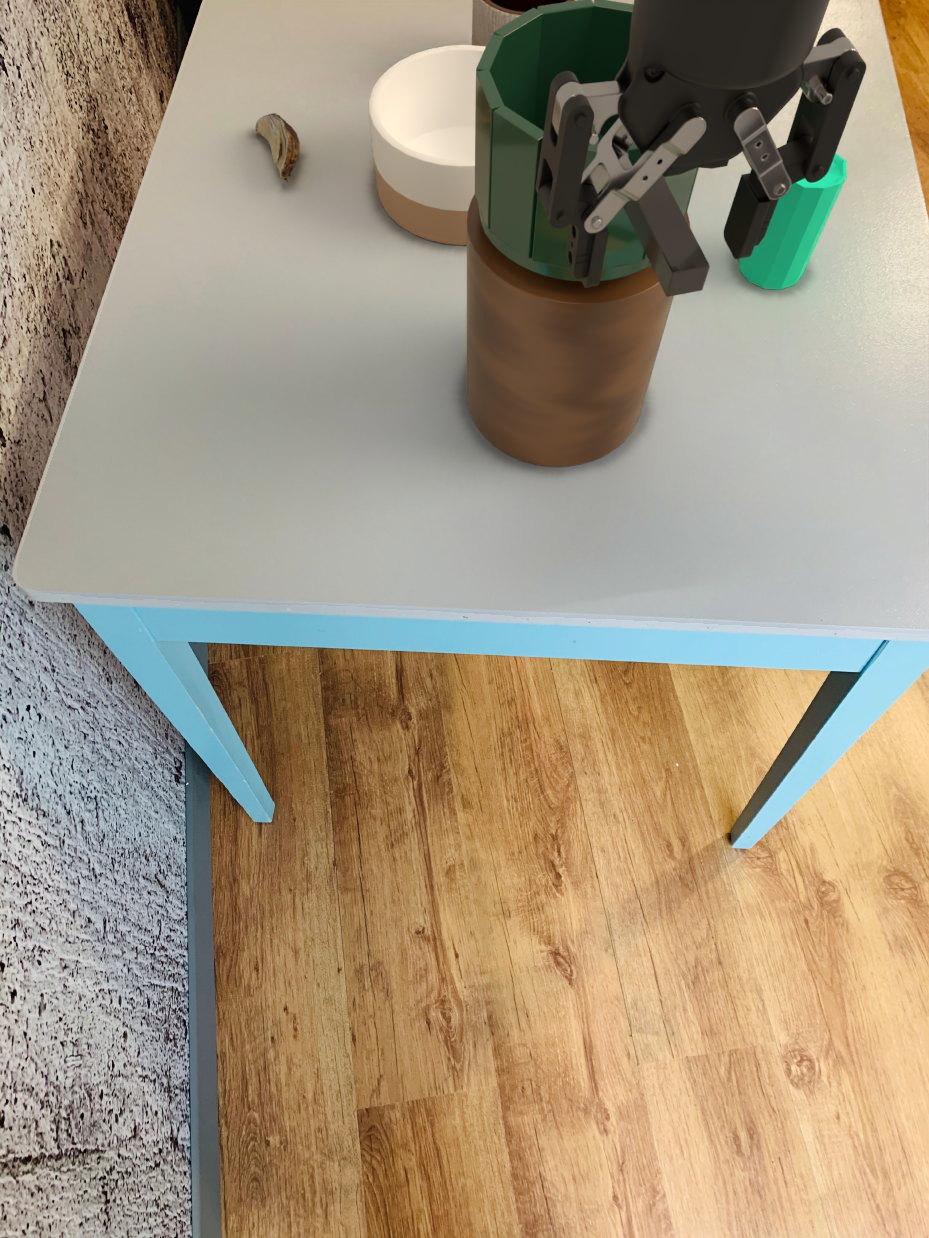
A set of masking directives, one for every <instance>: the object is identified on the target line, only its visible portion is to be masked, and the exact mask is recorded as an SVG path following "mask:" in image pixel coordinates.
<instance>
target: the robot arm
mask: <svg viewBox="0 0 929 1238" xmlns="http://www.w3.org/2000/svg"><path fill="white" fill-rule="evenodd" d="M830 1H831V0H633V4H634V5H633V11H632V17H631V26H630V41H629V51H628V55H627V57H626V60H625V62H624V64H623V66H622V68H621V69H620V71H619V72H618V74H617V75H616V77H615V79H614V81H608V82H598V83H588V84H580V83H579V81H578V79H577V77H576V75H575V74H574V73H573V72H571V71H563V72H561V73H559V74H558V75H556V77H555V78H554V79H553V81H552V83H551V86H550V93H549V100H548V107H547V113H546V120H545V127H544V134H543V140H542V147H541V154H540V161H539V167H538V174H537V181H536V190H537V193H538V195H539V197H540V200H541V202H542V205H543V207H544V209H545V212H546V214H547V216H548V219H549V221H550V223H551V225H552V226H553V227H554V228H558V229H559V228H564V227H566V226H568V225H569V231H568V239H567V247H566V256H567V259H568V261H569V264H570V266H571V268H572V271H573V273H574V275H575V278H576V279H581V281H582V283H583V286H584V287H585V288H587V287H592V286H597V285H599V283H600V278H601V273H602V267H603V262H604V256H605V251H606V245H607V240H608V234H609V229H608V227H607V224H608V223H609V222H610V221H611V220H612V219H613V218H614V217H615V215H616V214H617V213H618V212H619V211H620V210H621V209H622V208H623V206H624V205H625V204H626V203H627V202H628V201H631V200H632V201H637V200H639V199H640V198H641V197H642V196H643V195H644V194H645V193H646V192H647V191H648V190H649V189H650V187H651V186H652V185H653V184H654V183H655V182H656V181H657V180H658V179H659V177H660V176H661V175H662V174H664V176H665V177H668V176H674V175H680V174H683V173H685V172H687V171H690V170H692V169H695V168H699V169H700V168H701V169H709V170H710V169H711V170H712V169H713V170H714V169H719V168H723V167H728V165H729V162H730V160H732V159H734V158H735V157H737V156H739V155H740V154H743V156H744V158H745V160H746V162H747V164H748V166H749V168H750V172H748V173H744V174H741V175H740V178H739V182H738V184H737V188H736V191H735V193H734V197H733V200H732V203H731V206H730V209H729V212H728V214H727V215H728V216H727V218H726V222H725V225H724V227H723V241H724V242H725V244H726V246H727V248H728V249H729V251H730V253H731V255H732V257H733V259H734V260H739V259H741V258H746V257H750V256H751V254H752V252H753V249H754V246H757V245H759V243H760V242H761V241H762V239H763V238H764V237H765V234H766V232H767V229H768V226H769V224H770V220H771V219H772V216H773V213H774V211H775V208H776V205H777V203H778V200H779V199H780V198H781V197H783V196H784V195H786V194H787V193H788V191H789V190H790V188H791V185H792V184H794V183H796V182H798V181H800V180H802V179H806V180H807V182H809V183H814V182H817V181H819V180H821V179H822V178H823V177H824V176H825V175H826V174H827V173H828V171H829V169H830V167H831V164H832V161H833V159H834V156H835V153H836V154H837V151H838V148H839V145H840V142H841V139H842V137H843V134H844V131H845V128H846V126H847V123H848V120H849V118H850V116H851V112H852V109H853V107H854V104H855V101H856V98H857V96H858V93H859V91H860V88H861V85H862V83H863V81H864V77H865V74H866V71H867V63H866V62H865V60H864V59H863V58H862V56H861V55H860V53H859V50H857V48H856V47H855V45H854V44H853V43H852V42H851V40H850V38H848V37H847V36H846V34H845V33H844V31H843V30H842V29H841V28H839V27H832V28H830V29H828V30H826V31H825V32H824V33H823V34H822V35H821V36H820V37H819V39H818V41H817V42H816V40H817V37H818V35H819V32H820V30H821V29H820V28H821V26H822V24H823V20H824V17H825V15H826V13H827V9H828V6H829V4H830ZM815 43H816V45H815ZM799 90H801V94H800V97H799V100H798V104H797V107H796V111H795V114H794V117H793V120H792V122H791V123H792V124H791V126H790V130H789V133H788V137H787V139H786V142H785V144H783V145H781V146H779V147H777V145H776V142H775V141H774V139H773V137H772V135H771V132H770V130H769V128H768V125H769V124H770V123H771V121H772V120H773V119H774V118H775V117H776V116H777V115H778V114H779V113H780V112H781V111H782V110H783V108H785V106H786V105H787V104H788V103H789V102H790V101H791V100H792V99H793V98H794V97H795V96H796V95H797V93H798V92H799ZM617 114H618V115H619V118H618V119H617V121H616V122H615V123H614V124H613V126H612V127H611V128H610V129H609V130H608V132H607V133H606V134H605V135H604V137H603V138H602V139H601V140H600V142H599V144H598V147H597V154H596V157H595V158H594V160H593V161H592V162H591V163H590V164H589V166H588V167H587V168H586V169H585V171H584V166H585V161H586V156H587V151H588V146H589V145H594V144H596V143H597V142H598V140H599V136H598V134H599V133H600V131H601V128H602V126H603V124H604V122H605V121H606V120H607V119H608V118H610V117H611V116H613V115H617ZM633 143H635V144H636V146H637V148H638V149H639V151H640V153H641V154H642V156H641V157H640V159H639V160H638V161H637V162H636V163H635V164H634V166H632V164H631V162H630V160H629V157H628V153H629V149H630V147H631V145H632V144H633ZM583 171H584V172H583ZM609 180H610V181H609ZM608 182H609V184H608V185H607V187H606V188H605V189H604V190H603V191H602V193H601V194H600V195H598V193H599V192H600V191H601V190H602V189H603V187H604V186H605V185H606V184H607V183H608Z"/></svg>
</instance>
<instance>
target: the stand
mask: <svg viewBox="0 0 929 1238" xmlns="http://www.w3.org/2000/svg"><path fill="white" fill-rule="evenodd" d="M685 219H686V221H687V223H688V225H689V227H690V228H691V223H690V221H691V220H690V217H689V213H688V212H687V213H686V217H685ZM674 298H675V296H670V297H666V295H665V293H664V291H663V289H662V287H661V285H660V283H659V281H658V278H657V276H656V274H655V272H654V270H653V268H652V266H651V265H650V266H649V267H647V268H645V269H643V270H641V271H639V272H636V273H633V274H631V275H628V276H625V277H620V278H616V279H612V280H604V281H600V283H599V285H597V286H592V287H587V288H585V287H584V286H583V283H582V282H580V281H568V280H561V279H556V278H552V277H548V276H544V275H541V274H538V273H536V272H533V271H530V270H528V269H526V268H524V267H522V266H520V265H518V264H517V263H515V262H513V261H512V260H510V259H509V258H507V257H506V256H505V255H504V254H503V253H501V252H500V251H499V250H498V249H497V248H496V247H495V246H494V245H493V244H492V242H491V241H490V240H489V238H488V237H487V235H486V234H485V232H484V230H483V227H482V225H481V223H480V219H479V216H478V206H477V199H476V196H475V194H474V196H473V198H472V200H471V202H470V206H469V209H468V215H467V245H466V403H467V407H468V412H469V414H470V416H471V419H472V421H473V423H474V425H475V427H476V428H477V429H478V431H479V432H480V434H482V435H483V437H484V438H485V439H486V440H487V441H488V443H489V442H490V444H491V445H492V446H494V447H496V448H497V449H498V450H500V451H501V452H503V453H505V454H506V455H509V456H510V457H512V458H515V459H517V460H519V461H521V462H525V463H529V464H532V465H538V466H542V467H543V466H544V467H556V468H558V467H559V468H560V467H573V466H579V465H583V464H587V463H590V462H593V461H596V460H599V459H600V458H603V457H605V456H607V455H608V454H610V453H612V452H614V451H615V450H616V449H617V448H618V447H620V446H621V445H622V444H623V443H625V441H626V440H627V439H628V438H629V437H630V435H631V434H632V433H633V431H634V430H635V428H636V426H637V424H638V423H639V419H640V416H641V413H642V409H643V406H644V402H645V398H646V397H647V396H646V395H647V392H648V388H649V384H650V381H651V378H652V375H653V370H654V367H655V364H656V360H657V356H658V354H659V349H660V346H661V342H662V339H663V336H664V333H665V332H664V331H665V329H666V325H667V321H668V318H669V315H670V311H671V307H672V304H673V300H674Z"/></svg>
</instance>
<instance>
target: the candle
mask: <svg viewBox="0 0 929 1238" xmlns="http://www.w3.org/2000/svg"><path fill="white" fill-rule="evenodd" d="M847 161H848V160H846V159H845V158H843V157H842V156H841V155H840V154H838V153H837V152H836V153H835V156H834V159H833V161H832V164H831V167H830V169H829V171H828V173H827V174H826V175H825V176H824V177H823V178H822V179H821V180H819V181H817V182H814V183H809V182H807V180H806V179H802V180H800V181H798V182H796V183H794V184H792V185H791V188H790V190H789V191H788V193H787V194H786V195H784V196H783V197H781V198H780V199H779V200H778V203H777V205H776V208H775V211H774V213H773V216H772V219H771V220H770V224H769V226H768V229H767V232H766V234H765V237H764V238H763V239H762V241H761V242H760V243H759V245H757V246H754V249H753V252H752V254H751V256H750V257H746V258H741V259H738V266H739V267H738V269H739V271H740V273H741V274H742V275H743V277H744V278H745V279H746V280H747V282H749V283H751V284H753V285H756V286H758V287H759V288H762V289H763V290H765V289H767V290H777V291H778V290H779V291H781V290H785V289H787V288H790V287H793V286H795V285H796V284H797V283H798V282H799V281H800V279H801V278H802V276H803V275H804V273H805V271H806V268H807V266H808V264H809V262H810V260H811V257H812V256H813V253H814V250H815V248H816V246H817V244H818V242H819V239H820V238H821V235H822V233H823V230H824V228H825V226H826V224H827V222H828V219H829V217H830V215H831V213H832V210H833V208H834V206H835V204H836V202H837V199H838V197H839V195H840V193H841V191H842V188H843V186H844V184H845V181H846V180H847V177H848V175H847V173H848V172H847V171H848V170H847V165H848V164H847V163H848V162H847Z"/></svg>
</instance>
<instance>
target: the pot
mask: <svg viewBox="0 0 929 1238" xmlns="http://www.w3.org/2000/svg"><path fill="white" fill-rule="evenodd" d="M633 5H634V3H627V2H621V1H615V0H594V1H593V0H578V1H571V2H565V3H558V4H552V5H545V6H539V7H538V8H537V9H535V8H532V9H530V10H529V11H527V12H525V13H524V14H522V15H520V16H519V17H517V18H515V19H514V20H512V21H510V22H509V23H507V24H505V25H504V26H502V27H500V28H499V29H497V30H495V31H494V34H492V35H491V36H490V39H489V41H488V43H487V45H486V48H485V50H484V52H483V54H482V57H481V59H480V61H479V63H478V66H477V68H476V109H475V196H476V199H477V206H478V216H479V219H480V223H481V225H482V227H483V230H484V232H485V234H486V235H487V237H488V238H489V240H490V241H491V242H492V244H493V245H494V246H495V247H496V248H497V249H498V250H499V251H500V252H501V253H503V254H504V255H505V256H506V257H507V258H509V259H510V260H512V261H513V262H515V263H517V264H518V265H520V266H522V267H524V268H526V269H528V270H530V271H533V272H536V273H538V274H541V275H544V276H548V277H552V278H556V279H561V280H568V281H580V282H582V281H581V279H576V278H575V275H574V273H573V271H572V268H571V266H570V264H569V261H568V259H567V256H566V247H567V239H568V231H569V225H568V226H566V227H564V228H559V229H558V228H554V227H553V226H552V225H551V223H550V221H549V219H548V216H547V214H546V212H545V209H544V207H543V205H542V202H541V200H540V197H539V195H538V193H537V190H536V181H537V174H538V167H539V161H540V154H541V147H542V140H543V134H544V127H545V120H546V113H547V107H548V100H549V93H550V86H551V83H552V81H553V79H554V78H555V77H556V75H558V74H559V73H561V72H563V71H571V72H573V73H574V74H575V75H576V77H577V79H578V81H579V83H580V84H588V83H598V82H608V81H614V79H615V77H616V75H617V74H618V72H619V71H620V69H621V68H622V66H623V64H624V62H625V60H626V57H627V55H628V51H629V41H630V26H631V17H632V11H633ZM618 118H619V115H618V114H617V115H613V116H611V117H610V118H608V119H607V120H606V121H605V122H604V124H603V126H602V128H601V131H600V133H599V134H598V136H599V140H598V142H597V143H596V144H594V145H589V146H588V151H587V156H586V161H585V166H584V171H585V169H586V168H587V167H588V166H589V164H590V163H591V162H592V161H593V160H594V158H595V157H596V154H597V147H598V144H599V142H600V140H601V139H602V138H603V137H604V135H605V134H606V133H607V132H608V130H609V129H610V128H611V127H612V126H613V124H614V123H615V122H616V121H617V119H618ZM641 156H642V154H641V153H640V151H639V149H638V148H637V146H636V144H635V143H633V144H632V145H631V147H630V149H629V153H628V157H629V160H630V162H631V164H632V166H634V164H635V163H636V162H637V161H638V160H639V159H640V157H641ZM699 169H700V168H695V169H692V170H690V171H687V172H685V173H683V174H680V175H674V176H668V177H665V176H664V174H662V175H661V176H660V177H659V179H658V180H657V181H656V182H655V183H654V184H653V185H652V186H651V187H650V189H649V190H648V191H647V192H646V193H645V194H644V195H643V196H642V197H641V198H640V199H639V200H637V201H632V200H631V201H628V202H627V203H626V204H625V205H624V206H623V208H622V209H621V210H620V211H619V212H618V213H617V214H616V215H615V217H614V218H613V219H612V220H611V221H610V222H609V223H608V224H607V227H608V229H609V234H608V240H607V245H606V251H605V256H604V262H603V267H602V273H601V278H600V281H604V280H612V279H616V278H620V277H625V276H628V275H631V274H633V273H636V272H639V271H641V270H643V269H645V268H647V267H649V266H650V265H651V266H652V268H653V270H654V272H655V274H656V276H657V278H658V281H659V283H660V285H661V287H662V289H663V291H664V293H665V295H666V297H670V296H674V297H675V296H680V295H685V294H690V293H695V292H701V291H703V289H704V286H705V284H706V280H707V277H708V274H709V272H710V271H709V270H710V267H711V265H710V263H709V261H708V259H707V257H706V255H705V253H704V252H703V250H702V248H701V246H700V243H699V242H698V240H697V238H696V236H695V234H694V232H693V230H692V228H691V226H690V227H689V225H688V223H687V221H686V219H685V217H686V213H688V209H689V205H690V202H691V198H692V194H693V191H694V187H695V183H696V180H697V176H698V173H699ZM584 171H583V172H584ZM609 181H610V180H609ZM608 184H609V182H608V183H607V184H606V185H605V186H604V187H603V189H602V190H601V191H600V192H599V193H598V195H600V194H601V193H602V191H603V190H604V189H605V188H606V187H607V185H608Z"/></svg>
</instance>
